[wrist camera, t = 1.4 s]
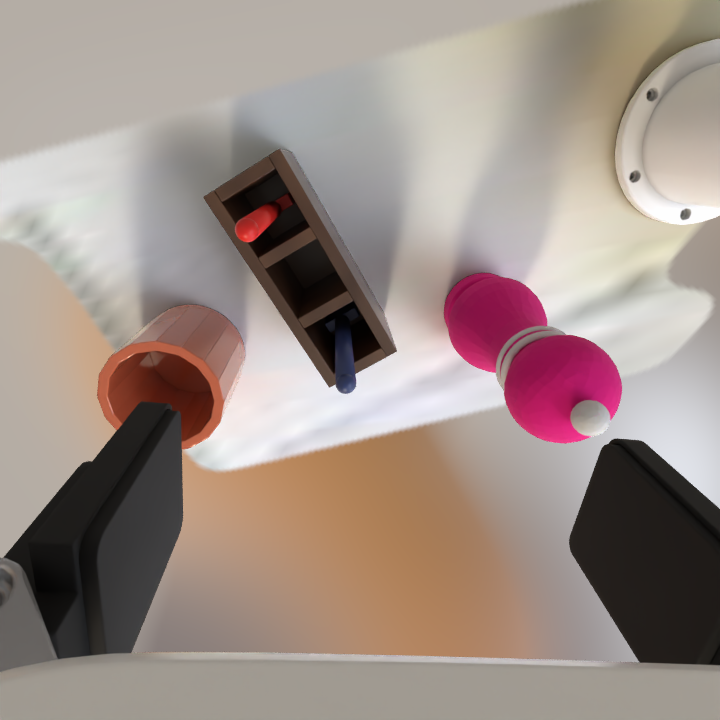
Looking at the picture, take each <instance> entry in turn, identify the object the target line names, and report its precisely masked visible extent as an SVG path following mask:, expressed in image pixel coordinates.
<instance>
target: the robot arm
mask: <svg viewBox="0 0 720 720" xmlns="http://www.w3.org/2000/svg"><path fill="white" fill-rule="evenodd" d="M646 94H648V97H647V96H646ZM615 164H616V172H617V176H618V180H619V184H620V186H621V188H622V190H623V192H624V194H625V196H626V198H627V199H628V200H629V201H630V203H631V204H632V205H633V206H634V207H635V208H636V209H637V210H638V211H640V212H641V213H643V214H644V215H645V216H647V217H650V218H652V219H655V220H657V221H661V222H666V223H671V224H682V225H683V224H692V223H699V222H703V221H706V220H709V219H712V218H715V217H717V216H719V215H720V39H714V40H710V41H707V42H703V43H699V44H696V45H694V46H691V47H688V48H686V49H683V50H682V51H680V52H678V53H677V54H675V55H673V56H671V57H670V58H668V59H667V60H666V61H664V62H663V63H662V64H661V65H660V66H658V67H657V68H656V69H655V70H654V71H652V73H651V74H650V75H649V76H648V77H647V78H646V79H645V81H644V82H643V83H642V84H641V85H640V86H639V88H638V90H637V91H636V93H635V94H634V96H633V97H632V99H631V100H630V102H629V104H628V106H627V109H626V111H625V113H624V115H623V117H622V120H621V123H620V127H619V131H618V134H617V139H616V148H615ZM630 174H631V177H630V179H629V176H630ZM182 494H183V489H182V436H181V414H180V412H179V411H172V406H171V404H170V403H157V402H144V401H141V402H140V403H139V404H138V405H137V406H136V407H135V409H134V410H133V411H132V412H131V414H130V415H129V416H128V417H127V419H126V420H125V421H124V422H123V424H122V425H121V426H120V427H119V429H118V430H117V431H116V432H115V434H114V435H113V436H112V438H111V439H110V440H109V441H108V443H107V444H106V445H105V446H104V448H103V449H102V450H101V451H100V453H99V454H98V455H97V457H96V458H95V459H94V460H93V461H92V462H90V461H88V462H84V463H82V464H81V465H80V467H78V468H77V469H76V471H75V472H74V473H73V474H72V476H71V477H70V478H69V479H68V480H67V482H66V483H65V484H64V485H63V486H62V488H61V489H60V490H59V491H58V492H57V494H56V495H55V496H54V497H53V499H52V500H51V501H50V502H49V503H48V504H47V506H46V507H45V508H44V509H43V511H42V512H41V513H40V514H39V515H38V517H37V518H36V519H35V520H34V521H33V523H32V524H31V525H30V526H29V527H28V529H27V530H26V531H25V532H24V534H23V535H22V536H21V537H20V538H19V539H18V541H17V542H16V543H15V544H14V546H13V547H12V548H11V549H10V550H9V552H8V553H7V554H6V555H5V556H4V558H0V720H720V509H719V508H718V507H717V506H716V505H715V504H713V503H712V502H711V501H710V500H709V499H708V498H707V497H706V496H704V495H703V494H702V493H701V492H700V491H699V490H698V489H697V488H695V487H694V486H693V485H692V484H691V483H689V482H688V481H687V480H686V479H685V478H684V477H683V476H682V475H681V474H679V473H678V472H677V471H676V470H675V469H674V468H673V467H672V466H670V465H669V464H668V463H667V462H666V461H665V460H664V459H662V458H661V457H660V456H659V455H658V454H657V453H656V452H655V451H653V450H652V449H651V448H650V447H649V446H648V445H647V444H645V443H644V442H642V441H639V440H628V439H613V440H611V441H610V443H609V444H607V445H604V446H603V448H602V450H601V452H600V455H599V457H598V460H597V463H596V466H595V468H594V471H593V474H592V477H591V479H590V482H589V485H588V488H587V490H586V494H585V496H584V499H583V502H582V504H581V507H580V510H579V513H578V515H577V518H576V521H575V524H574V526H573V529H572V532H571V535H570V539H569V545H570V550H571V553H572V555H573V556H574V558H575V559H576V561H577V563H578V564H579V566H580V567H581V569H582V571H583V572H584V574H585V576H586V577H587V579H588V580H589V582H590V584H591V585H592V586H593V588H594V590H595V592H596V593H597V595H598V596H599V598H600V600H601V601H602V603H603V604H604V606H605V608H606V609H607V611H608V612H609V614H610V616H611V617H612V619H613V620H614V622H615V624H616V625H617V627H618V629H619V630H620V632H621V633H622V635H623V637H624V638H625V640H626V641H627V643H628V645H629V646H630V648H631V649H632V651H633V653H634V654H635V656H636V657H637V659H638V661H639V662H640V663H637V662H608V661H577V660H575V661H574V660H543V659H542V660H541V659H510V658H507V659H505V658H472V657H436V656H396V655H352V654H306V653H252V652H250V653H249V652H248V653H247V652H242V653H241V652H149V653H131V652H132V650H133V647H134V645H135V642H136V640H137V637H138V635H139V632H140V630H141V627H142V625H143V622H144V620H145V618H146V615H147V613H148V610H149V608H150V605H151V603H152V600H153V598H154V595H155V593H156V590H157V588H158V585H159V583H160V581H161V578H162V576H163V573H164V571H165V568H166V565H167V563H168V561H169V558H170V556H171V553H172V551H173V548H174V546H175V543H176V541H177V539H178V536H179V533H180V531H181V527H182V521H183V495H182Z"/></svg>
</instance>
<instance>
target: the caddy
mask: <svg viewBox="0 0 720 720" xmlns="http://www.w3.org/2000/svg"><path fill="white" fill-rule="evenodd" d="M288 192H290V194H291V195H292V197H293V199H294V200H295V203H294V204H293V205H292V206H290V207H288V208H287V209H285V210H283V211H282V212H281V214H280V216H279V217H278V218H277V219H275V220H274V221H273V222H272V223H271V224H270V225H269V226H268V227H267V228H266V229H265V230H264V231H263V232H262V233H261V234H260V235H259V236H258V237H257V238H256V239H255V240H254V241H252V242H244V241H242V240H240V239H239V238H238V237H237V235H236V233H235V226H236V223H237V222H238V221H239V220H240V219H242V218H243V217H245V216H247V215H248V214H250V213H252V212H253V211H255V210H257V209H258V208H260V207H262V206H263V205H265V204H266V203H268V202H270V201H275V200H277V199H279V198H280V197H282V196H284V195H285V194H287V193H288ZM204 199H205V201H206V202H207V204H208V205H209V207H210V208H211V210H212V211H213V213H214V214H215V216H216V217H217V219H218V220H219V222H220V224H221V225H222V227H223V228H224V230H225V231H226V233H227V234H228V236H229V237H230V239H231V240H232V242H233V243H234V245H235V246H236V248H237V249H238V251H239V252H240V254H241V255H242V257H243V258H244V260H245V261H246V263H247V264H248V266H249V267H250V269H251V270H252V272H253V273H254V275H255V276H256V278H257V279H258V281H259V282H260V284H261V285H262V287H263V288H264V290H265V291H266V293H267V294H268V296H269V297H270V299H271V300H272V302H273V303H274V305H275V306H276V308H277V309H278V311H279V312H280V314H281V315H282V317H283V319H284V320H285V322H286V323H287V325H288V326H289V328H290V329H291V331H292V332H293V334H294V335H295V337H296V338H297V340H298V341H299V343H300V344H301V346H302V347H303V349H304V350H305V352H306V353H307V355H308V356H309V358H310V359H311V361H312V362H313V364H314V365H315V367H316V368H317V370H318V371H319V373H320V374H321V376H322V377H323V379H324V380H325V382H326V383H327V385H328V386H329V387H332V386H333V385H335V384H336V375H335V330H334V331H332V332H329V330H328V329H327V327H326V325H325V317H326V316H327V315H329V314H331V313H333V312H334V311H336V310H338V309H340V308H342V307H343V306H345V305H347V304H349V303H350V302H352V301H353V300H354V302H355V304H356V305H357V307H358V310H359V317H357V318H356V319H354V320H352V321H350V329H351V338H352V348H353V357H354V367H355V374H356V373H358V372H360V371H362V370H363V369H365V368H367V367H369V366H371V365H373V364H375V363H376V362H378V361H380V360H382V359H384V358H386V357H387V356H389V355H391V354H393V353H395V352H397V350H396V347H395V344H394V341H393V338H392V335H391V332H390V329H389V326H388V323H387V320H386V317H385V314H384V312H383V311H382V309H381V307H380V305H379V304H378V302H377V300H376V298H375V297H374V295H373V293H372V291H371V290H370V288H369V286H368V284H367V283H366V281H365V279H364V277H363V276H362V274H361V272H360V270H359V269H358V267H357V265H356V263H355V262H354V260H353V258H352V256H351V254H350V253H349V251H348V249H347V247H346V246H345V244H344V242H343V240H342V239H341V237H340V235H339V233H338V232H337V230H336V228H335V226H334V225H333V223H332V221H331V219H330V218H329V216H328V214H327V212H326V211H325V209H324V207H323V205H322V204H321V202H320V200H319V198H318V197H317V195H316V193H315V191H314V190H313V188H312V186H311V184H310V183H309V181H308V179H307V177H306V176H305V174H304V172H303V170H302V169H301V167H300V165H299V163H298V162H297V160H296V158H295V156H294V155H293V153H292V152H290V151H286V150H283V149H278V150H276V151H275V152H273V153H272V154H270V155H269V156H268V157H265V158H264V159H262V160H261V161H259V162H258V163H256V164H254V165H253V166H251V167H250V168H248V169H247V170H245V171H243V172H242V173H240V174H239V175H237V176H235V177H234V178H232V179H231V180H229V181H228V182H226V183H224V184H223V185H221V186H220V187H218V188H217V189H215V190H214V191H212V192H210V193H209V194H207V195H206V196H204Z"/></svg>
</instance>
